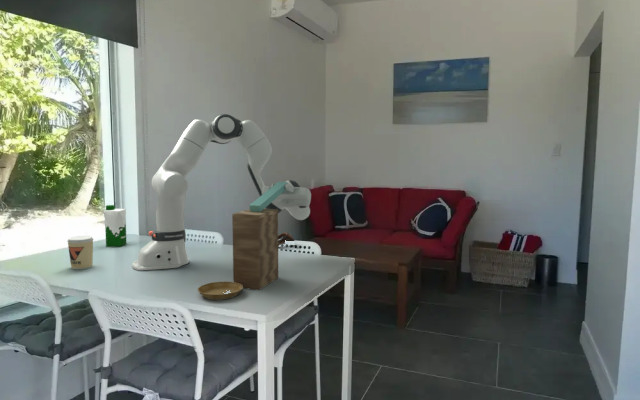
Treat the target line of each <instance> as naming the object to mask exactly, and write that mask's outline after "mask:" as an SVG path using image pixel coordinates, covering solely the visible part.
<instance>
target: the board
mask: <svg viewBox="0 0 640 400" xmlns="http://www.w3.org/2000/svg"><path fill="white" fill-rule="evenodd" d="M274 184H275V185H274V186H273V187H271V188H270V189H269V190H268V191H266V192H265V193H264V194H263V195H261V196H260V195H259V197H258V198H257V199H255V200H254V201H253V202H251V203H250V204H249V209H250V212H261V211H262V210H263V209H264V208H266V207H267V206H268V205H269V204H270V203H271V202H272V201H274V200H275V199H276V198H277V197H278V196H279V195H280V194H282V193H283V192H284V191H285V189H284V184H288V183H287V182H286V181H277V182H276V183H274Z"/></svg>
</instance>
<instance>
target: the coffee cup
mask: <svg viewBox="0 0 640 400" xmlns="http://www.w3.org/2000/svg"><path fill="white" fill-rule="evenodd" d="M67 245H68V246H67V247H68V254H69V260H70V267H71V269H72V270H85V269H89V268H92V267H93V262H94V261H93V260H94V258H93V257H94V254H93V253H94V238H93V236H91V235H77V236H72V237H69V238H67Z"/></svg>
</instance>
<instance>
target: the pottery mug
mask: <svg viewBox="0 0 640 400" xmlns="http://www.w3.org/2000/svg"><path fill="white" fill-rule="evenodd" d="M285 240H286V241H295V239H294V238H293V236H292V235H291V234H289V233H288V232H282V233H280V234H278V247H279V246H281V245H286V243H285Z"/></svg>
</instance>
